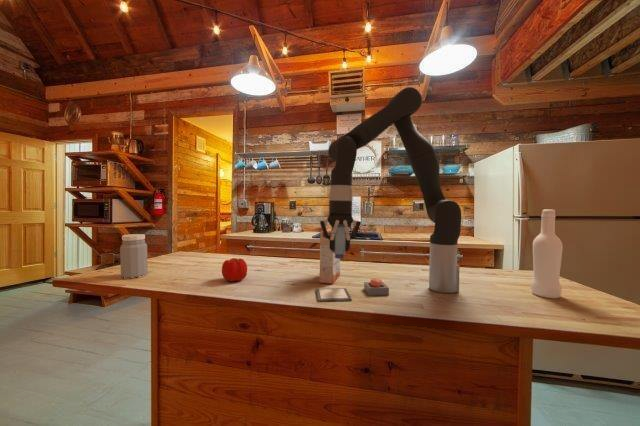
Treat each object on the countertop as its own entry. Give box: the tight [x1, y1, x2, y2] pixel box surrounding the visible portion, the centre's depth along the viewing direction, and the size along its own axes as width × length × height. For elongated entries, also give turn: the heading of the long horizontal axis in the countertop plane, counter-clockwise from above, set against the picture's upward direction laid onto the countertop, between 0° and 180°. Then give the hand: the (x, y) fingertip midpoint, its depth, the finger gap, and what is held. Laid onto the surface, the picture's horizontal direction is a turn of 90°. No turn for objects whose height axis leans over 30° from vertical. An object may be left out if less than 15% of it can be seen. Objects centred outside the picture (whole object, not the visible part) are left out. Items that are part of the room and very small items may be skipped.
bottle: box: [530, 208, 564, 299], centre depth 90 cm, size 8×8×30 cm
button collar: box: [363, 281, 390, 297], centre depth 94 cm, size 7×7×2 cm
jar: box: [119, 233, 149, 279], centre depth 113 cm, size 10×10×18 cm
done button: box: [370, 278, 383, 287], centre depth 93 cm, size 4×4×2 cm
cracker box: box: [319, 228, 341, 285], centre depth 109 cm, size 14×6×21 cm, turn 163°
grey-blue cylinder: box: [334, 224, 347, 260], centre depth 86 cm, size 4×4×11 cm
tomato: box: [221, 257, 248, 283], centre depth 107 cm, size 11×11×9 cm
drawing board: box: [315, 287, 353, 303], centre depth 90 cm, size 11×11×1 cm
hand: (339, 251), depth 86 cm, fingers closed on grey-blue cylinder, 4 cm apart
